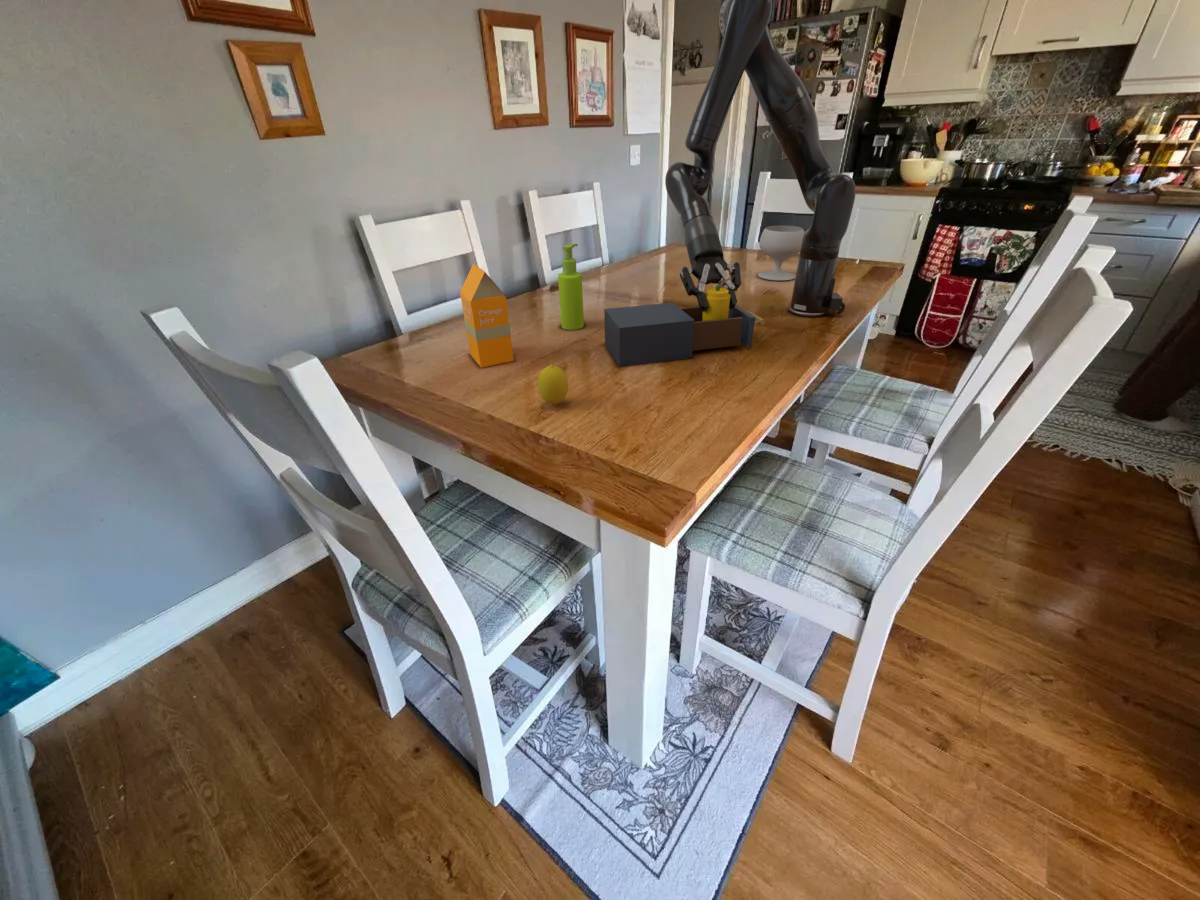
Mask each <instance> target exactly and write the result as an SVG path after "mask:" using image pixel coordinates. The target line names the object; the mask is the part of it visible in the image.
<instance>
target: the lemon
mask: <svg viewBox="0 0 1200 900" xmlns="http://www.w3.org/2000/svg"><path fill="white" fill-rule="evenodd" d="M537 389H538V394H539V395H540V397H541V399H542V400H544V401H545V402H546V403H548V404H551V405H553V406H556V405H558V404H559V403H561V402H562V401H564V400H565V398H566V397H567V394H568V392H569V380H568V378H567V375H566V373H565V371H564V370H563V368H561V367H559V366H557V365H554V364H549V365H548V366H546V367H545V368H543V369H542V370H541V371H540V372H539V374H538V379H537Z"/></svg>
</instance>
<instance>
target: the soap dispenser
mask: <svg viewBox="0 0 1200 900" xmlns="http://www.w3.org/2000/svg"><path fill="white" fill-rule="evenodd" d="M575 247H578V243H566V244H563V246H562V250H564V256H565V257H564V258H563V259H562V260H561V263H562V265H561V266H562V272H561V273H559V274H557V282H558V295H559V308H560V309H559V311H560V324H561V325H560V327H561V328H562V329H563V330H569V331H576V330H580V329H583V328H584V326H585V320H584V319H585V317H584V295H583V274H582V272H577V259H576V258H574V257H573V248H575Z"/></svg>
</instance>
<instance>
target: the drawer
mask: <svg viewBox="0 0 1200 900" xmlns="http://www.w3.org/2000/svg"><path fill="white" fill-rule="evenodd" d="M679 308H680V309H681V310H683V311H684V312H685V313H686V314H688V315H689V316H690V317H691V318H693V319H694V320H695V323H694V336H693V349H692V352H693V351H701V350H709V349H719V348H729V347H738V346H741V344H742V345H743V346H744V347H746V348H749V347H752V346H753V345H752V344H753V337H754V329H755V325H759V326H764V325H765V324H766V320H765V319H764V318H763V317H761V316H759V315H757V314H756V313H754V312H752V311H751V310H750V311H749V310H748V311H747V310H745V309H743V308H742V307H740V306H739V305H737V304H736V305H735V307H734V308H733V309H729V315H728V319H718V320H708V321H702V315H703V311H702V309H700V308H699V305H698V306H688V307H679Z"/></svg>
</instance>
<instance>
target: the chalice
mask: <svg viewBox="0 0 1200 900" xmlns="http://www.w3.org/2000/svg"><path fill="white" fill-rule="evenodd" d="M804 232H805V230H804V228H803V227H801V226H796V225H769V226H766V227H765V228H764V229H763V231H762V233H761V235H760V238H759V244H758V245H759V249H760V250H761V252H763V253H764V254H765V255H767V256H768V257H769V258H771V259H772V260H773V261H774V264H775V265H774V266H775V267H774V268H773V270H765V271H761V272H759V273H758V274H757V276H758V277H759V278H760V279H764V280H769V281H790V280H795V278H796V273H792V272H789V271H785V270H782V266H783V263H784V262H785V261H787V260H788V259H790V258H791V257H794V256H796V255H798V254H800V249H801V244H802V238H803V234H804Z"/></svg>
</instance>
